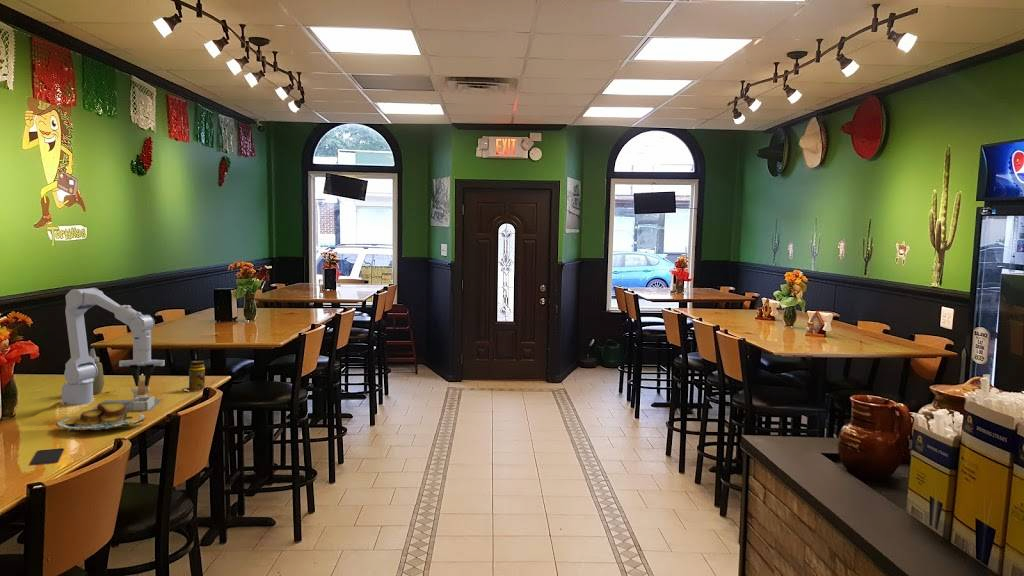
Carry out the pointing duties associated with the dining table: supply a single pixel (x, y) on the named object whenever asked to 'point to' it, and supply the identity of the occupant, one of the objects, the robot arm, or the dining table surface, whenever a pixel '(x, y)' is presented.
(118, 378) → the dining table surface
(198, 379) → the condiment
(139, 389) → the tan small block
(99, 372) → the squeeze bottle
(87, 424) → the food on plate
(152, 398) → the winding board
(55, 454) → the smartphone
